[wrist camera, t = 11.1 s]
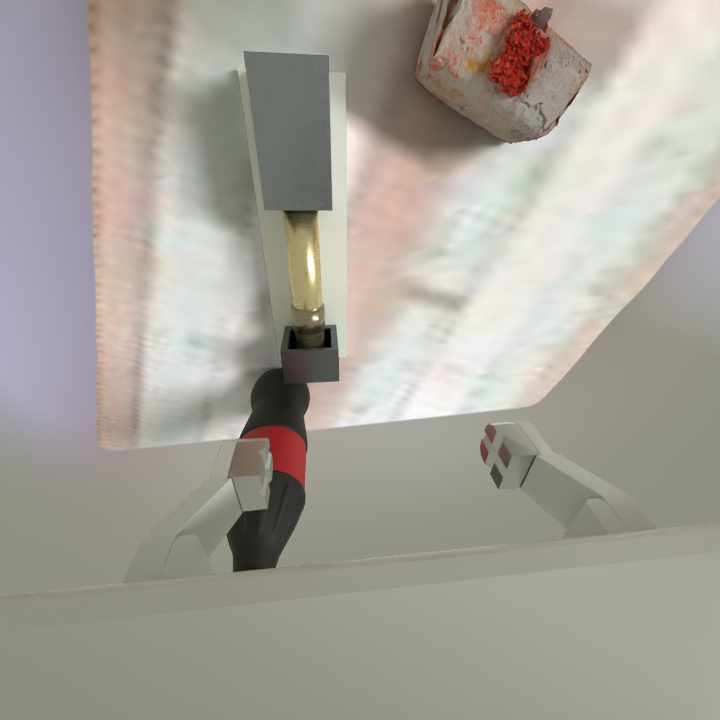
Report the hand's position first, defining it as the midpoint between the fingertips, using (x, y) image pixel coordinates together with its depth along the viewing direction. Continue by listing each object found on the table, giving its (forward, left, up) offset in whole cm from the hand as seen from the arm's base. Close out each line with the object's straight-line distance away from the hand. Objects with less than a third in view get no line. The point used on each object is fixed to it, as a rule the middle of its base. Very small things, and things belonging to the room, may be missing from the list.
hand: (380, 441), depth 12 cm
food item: (-15, +14, -33) cm, 39 cm away
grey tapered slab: (-10, -4, -32) cm, 34 cm away
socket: (+14, -4, -32) cm, 35 cm away
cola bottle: (+22, -9, -33) cm, 41 cm away
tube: (+5, -4, -31) cm, 31 cm away
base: (+1, -4, -33) cm, 33 cm away
